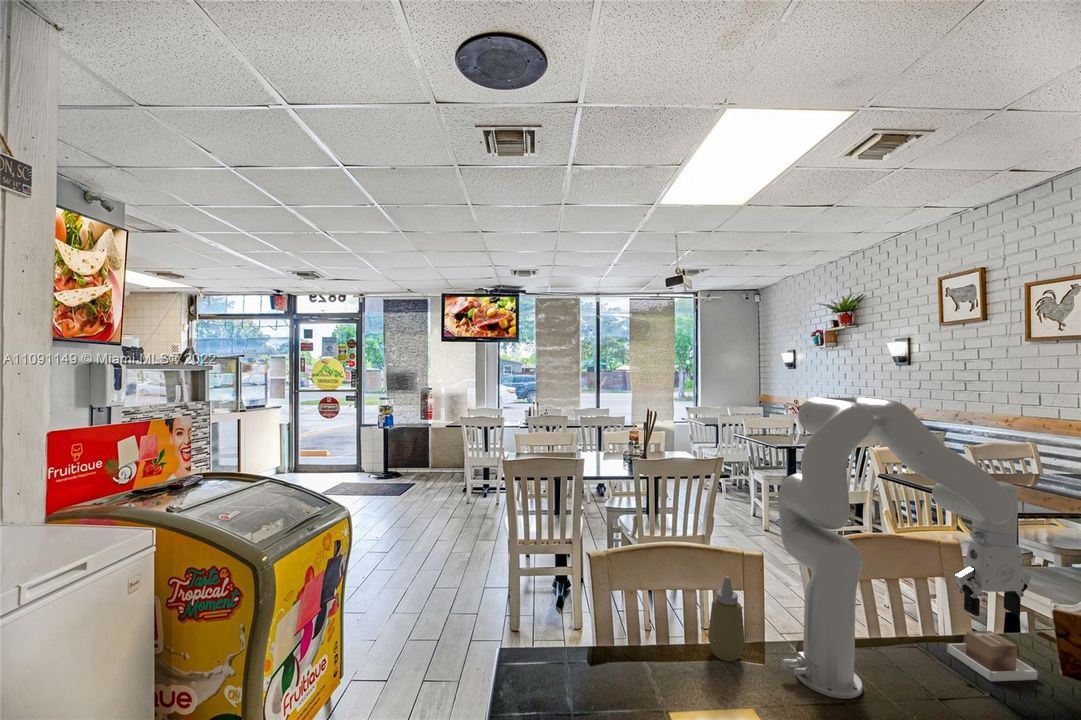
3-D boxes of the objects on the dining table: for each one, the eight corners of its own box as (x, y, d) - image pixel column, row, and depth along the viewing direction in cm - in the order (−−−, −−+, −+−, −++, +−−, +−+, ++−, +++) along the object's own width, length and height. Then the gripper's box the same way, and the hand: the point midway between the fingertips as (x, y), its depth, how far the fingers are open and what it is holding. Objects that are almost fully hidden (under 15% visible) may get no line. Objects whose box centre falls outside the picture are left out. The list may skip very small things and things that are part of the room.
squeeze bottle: (738, 670, 112) (740, 589, 112) (702, 656, 117) (703, 578, 117) (748, 653, 119) (750, 576, 118) (714, 640, 123) (715, 567, 123)
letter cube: (990, 673, 111) (991, 646, 111) (965, 657, 117) (966, 631, 117) (1015, 672, 112) (1016, 645, 112) (989, 656, 118) (990, 630, 118)
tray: (990, 683, 109) (991, 672, 109) (946, 653, 120) (947, 643, 120) (1037, 681, 110) (1037, 671, 110) (989, 651, 120) (989, 642, 120)
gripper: (973, 543, 110) (971, 622, 110) (1047, 542, 111) (1044, 620, 111) (943, 531, 117) (941, 605, 118) (1012, 530, 119) (1010, 603, 119)
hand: (991, 612), depth 114 cm, fingers open, 9 cm apart
